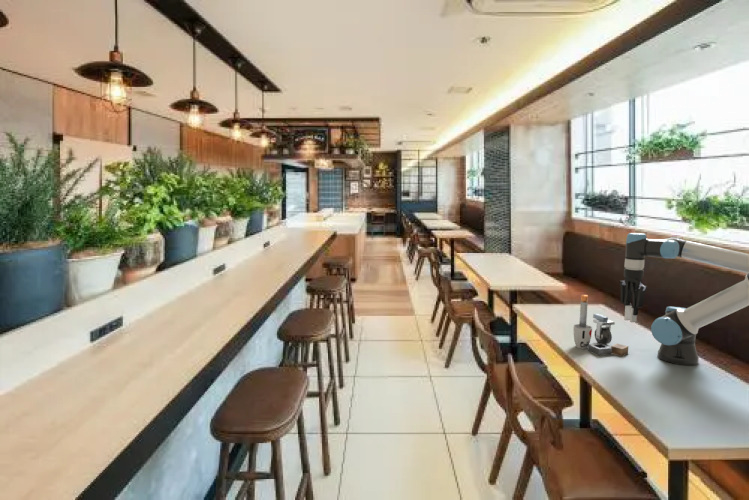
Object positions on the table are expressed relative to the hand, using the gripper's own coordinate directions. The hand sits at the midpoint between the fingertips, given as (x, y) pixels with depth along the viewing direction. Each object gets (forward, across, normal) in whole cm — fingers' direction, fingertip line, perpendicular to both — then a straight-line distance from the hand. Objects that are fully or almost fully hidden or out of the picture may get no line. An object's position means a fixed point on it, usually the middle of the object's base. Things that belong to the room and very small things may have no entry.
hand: (630, 320), depth 208 cm
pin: (+7, +17, +11) cm, 21 cm away
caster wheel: (+17, +18, -2) cm, 25 cm away
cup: (+17, +16, +11) cm, 26 cm away
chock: (+17, +5, 0) cm, 18 cm away
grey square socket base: (+17, +8, +8) cm, 20 cm away
